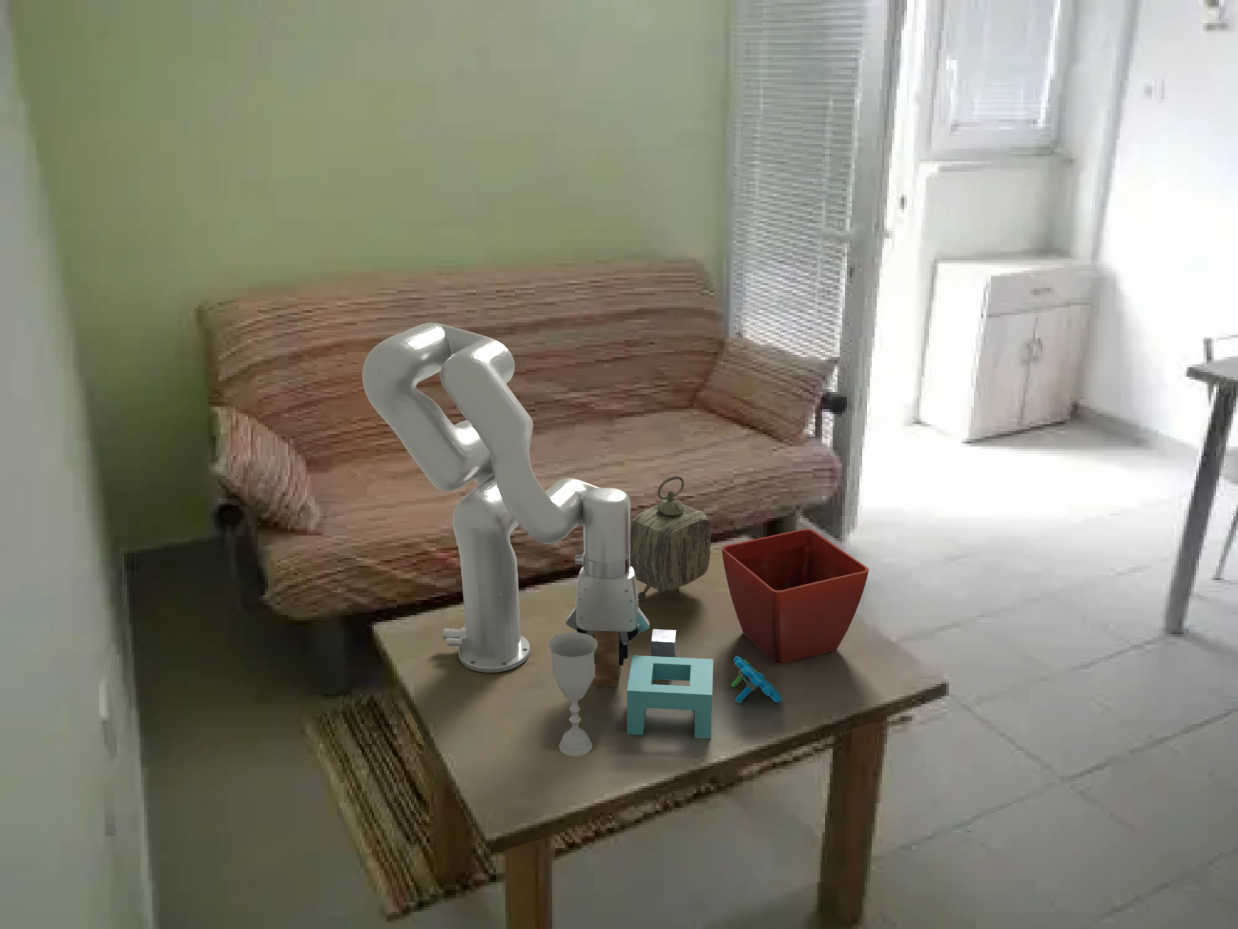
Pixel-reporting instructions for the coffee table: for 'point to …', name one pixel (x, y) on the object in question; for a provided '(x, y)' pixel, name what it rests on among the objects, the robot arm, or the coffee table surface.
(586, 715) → the coffee table surface
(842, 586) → the plant pot
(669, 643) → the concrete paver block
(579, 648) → the chalice
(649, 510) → the tabletop clock
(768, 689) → the gear
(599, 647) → the walnut pin
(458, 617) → the coffee table surface
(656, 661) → the bridge block
